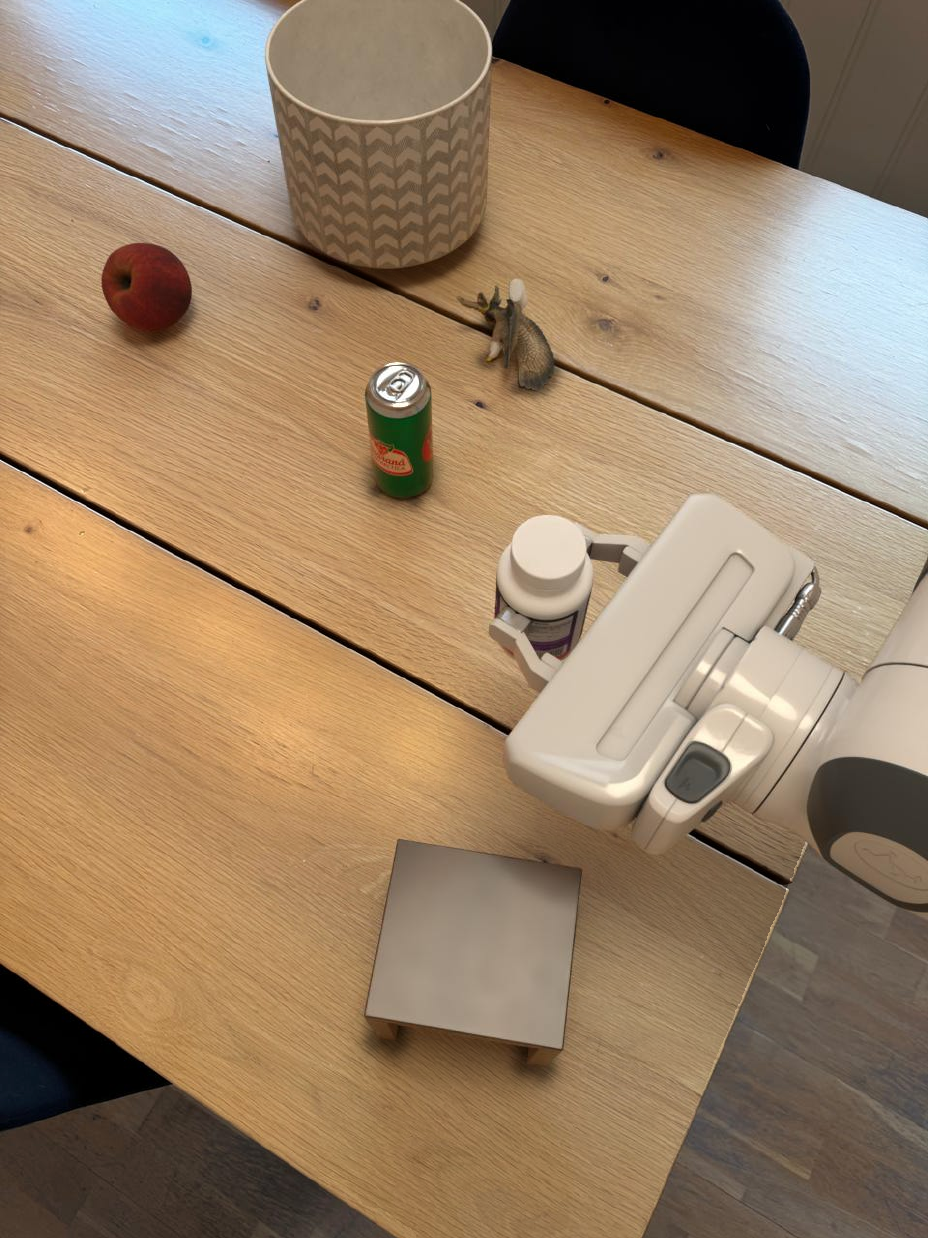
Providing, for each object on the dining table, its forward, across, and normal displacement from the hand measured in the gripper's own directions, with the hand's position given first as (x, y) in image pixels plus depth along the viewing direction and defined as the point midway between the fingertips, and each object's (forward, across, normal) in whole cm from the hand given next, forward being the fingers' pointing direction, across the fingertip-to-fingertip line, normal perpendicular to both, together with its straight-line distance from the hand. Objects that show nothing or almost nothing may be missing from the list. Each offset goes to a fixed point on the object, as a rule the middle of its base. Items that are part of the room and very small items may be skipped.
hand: (530, 577), depth 57 cm
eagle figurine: (+21, -30, +22) cm, 42 cm away
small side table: (-8, +16, +22) cm, 29 cm away
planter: (+40, -37, +22) cm, 59 cm away
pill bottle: (-1, 0, +6) cm, 6 cm away
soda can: (+20, -13, +22) cm, 33 cm away
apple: (+50, -14, +22) cm, 56 cm away
